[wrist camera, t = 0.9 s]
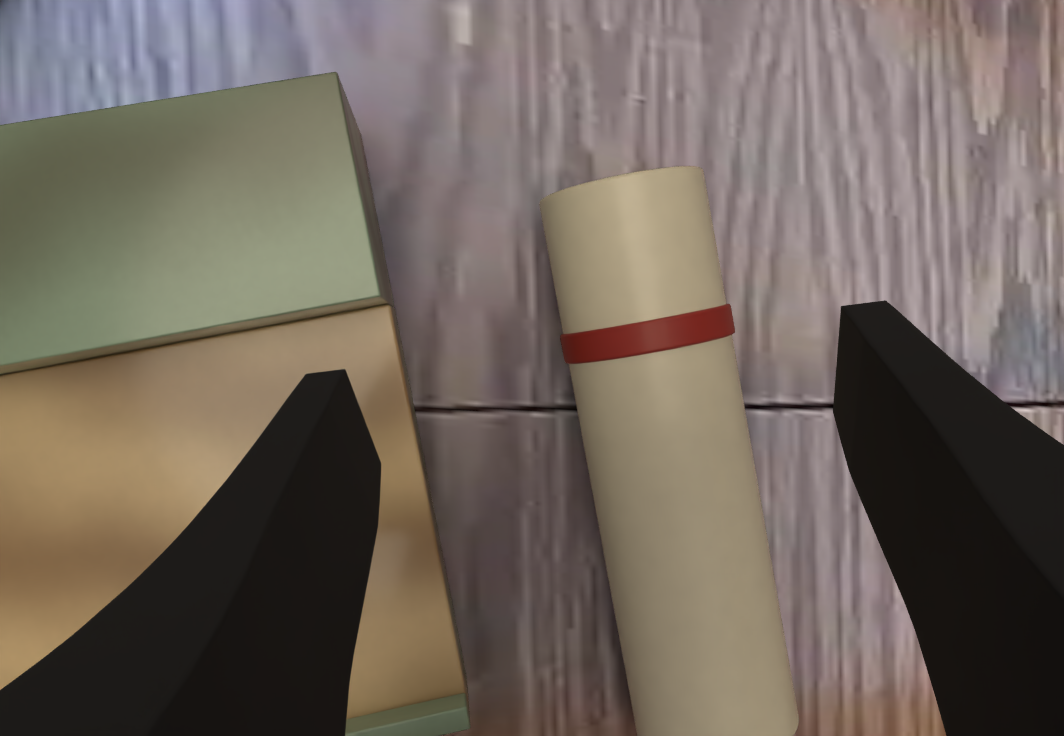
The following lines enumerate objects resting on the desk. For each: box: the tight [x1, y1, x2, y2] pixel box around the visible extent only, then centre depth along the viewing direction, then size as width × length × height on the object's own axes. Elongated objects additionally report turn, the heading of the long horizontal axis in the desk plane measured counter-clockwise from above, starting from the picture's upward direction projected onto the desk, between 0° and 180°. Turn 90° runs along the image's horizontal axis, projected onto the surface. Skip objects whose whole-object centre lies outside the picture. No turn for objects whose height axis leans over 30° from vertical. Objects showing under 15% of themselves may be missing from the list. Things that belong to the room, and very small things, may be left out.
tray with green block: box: [0, 72, 470, 736], centre depth 22 cm, size 16×19×6 cm
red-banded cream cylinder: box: [539, 166, 799, 736], centre depth 25 cm, size 15×5×5 cm, turn 11°
